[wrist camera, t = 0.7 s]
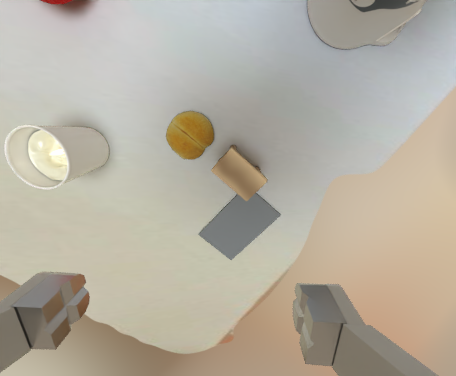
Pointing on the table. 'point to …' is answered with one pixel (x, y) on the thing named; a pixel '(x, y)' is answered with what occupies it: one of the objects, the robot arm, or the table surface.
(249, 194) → the stool
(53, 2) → the tomato
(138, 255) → the table surface
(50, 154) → the candle holder
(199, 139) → the bread roll
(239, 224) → the mat
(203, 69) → the table surface
